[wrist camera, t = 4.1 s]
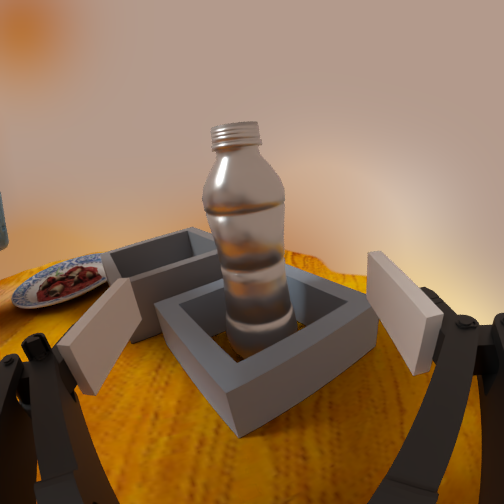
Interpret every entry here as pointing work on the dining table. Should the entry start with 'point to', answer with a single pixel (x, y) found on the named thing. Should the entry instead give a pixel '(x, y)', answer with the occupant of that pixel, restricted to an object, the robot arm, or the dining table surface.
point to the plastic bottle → (249, 239)
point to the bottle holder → (274, 357)
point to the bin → (163, 271)
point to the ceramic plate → (61, 282)
